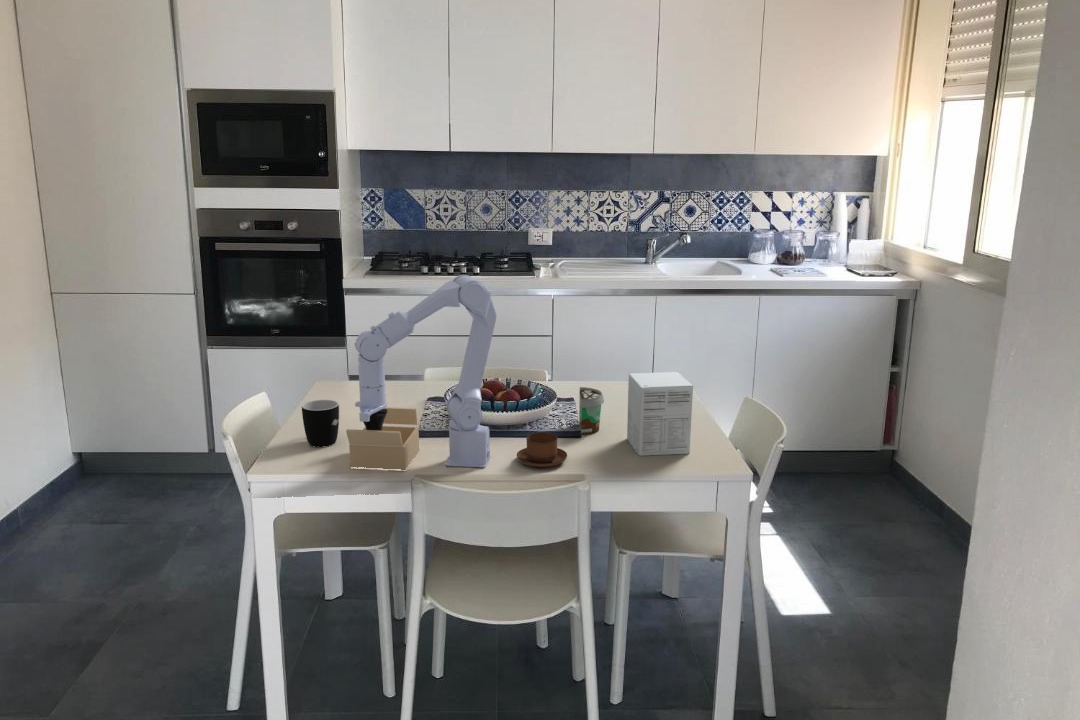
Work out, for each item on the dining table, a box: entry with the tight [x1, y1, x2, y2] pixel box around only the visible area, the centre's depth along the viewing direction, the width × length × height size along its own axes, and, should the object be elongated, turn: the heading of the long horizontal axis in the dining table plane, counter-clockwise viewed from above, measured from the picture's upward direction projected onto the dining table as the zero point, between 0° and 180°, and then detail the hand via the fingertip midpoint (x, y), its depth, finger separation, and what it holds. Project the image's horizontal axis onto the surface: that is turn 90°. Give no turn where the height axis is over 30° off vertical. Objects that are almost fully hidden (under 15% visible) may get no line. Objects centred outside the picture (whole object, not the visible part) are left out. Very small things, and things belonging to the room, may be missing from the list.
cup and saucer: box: [516, 432, 568, 468], centre depth 214 cm, size 12×12×6 cm
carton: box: [348, 425, 420, 471], centre depth 215 cm, size 13×14×6 cm
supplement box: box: [626, 371, 694, 457], centre depth 224 cm, size 13×13×18 cm
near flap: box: [345, 428, 403, 447], centre depth 205 cm, size 12×4×1 cm
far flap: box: [383, 406, 419, 426], centre depth 220 cm, size 12×4×1 cm
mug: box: [301, 399, 340, 448], centre depth 227 cm, size 12×9×10 cm
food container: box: [578, 386, 605, 436], centre depth 237 cm, size 12×6×10 cm, turn 0°
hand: (374, 441), depth 206 cm, fingers closed, pressing on near flap
